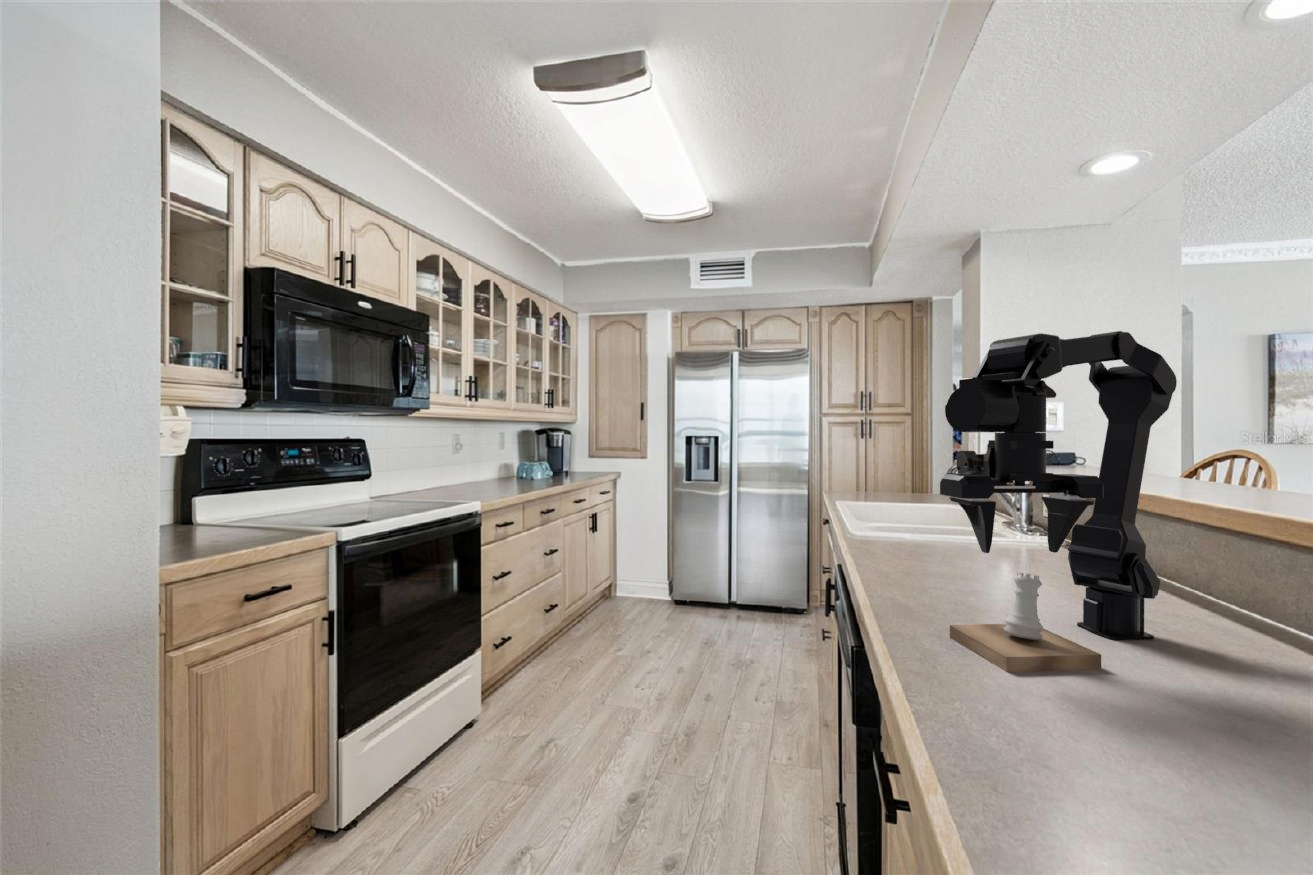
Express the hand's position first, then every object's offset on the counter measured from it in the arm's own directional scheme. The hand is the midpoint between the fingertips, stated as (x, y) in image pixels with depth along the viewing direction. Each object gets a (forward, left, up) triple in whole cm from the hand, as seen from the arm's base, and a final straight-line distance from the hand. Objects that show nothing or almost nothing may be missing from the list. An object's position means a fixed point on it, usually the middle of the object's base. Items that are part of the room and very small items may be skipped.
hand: (1019, 552), depth 77 cm
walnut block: (0, 0, -14) cm, 14 cm away
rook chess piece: (0, 0, -11) cm, 11 cm away
